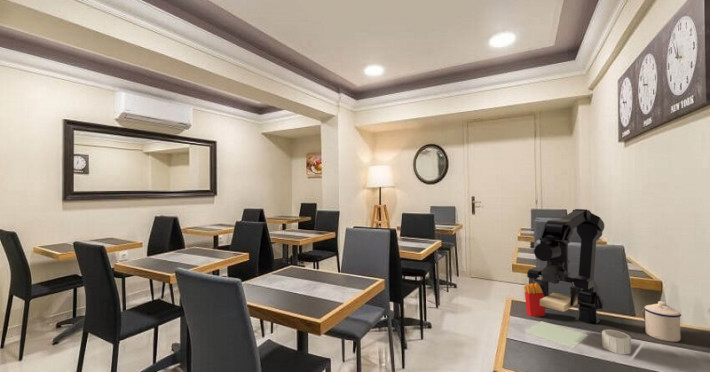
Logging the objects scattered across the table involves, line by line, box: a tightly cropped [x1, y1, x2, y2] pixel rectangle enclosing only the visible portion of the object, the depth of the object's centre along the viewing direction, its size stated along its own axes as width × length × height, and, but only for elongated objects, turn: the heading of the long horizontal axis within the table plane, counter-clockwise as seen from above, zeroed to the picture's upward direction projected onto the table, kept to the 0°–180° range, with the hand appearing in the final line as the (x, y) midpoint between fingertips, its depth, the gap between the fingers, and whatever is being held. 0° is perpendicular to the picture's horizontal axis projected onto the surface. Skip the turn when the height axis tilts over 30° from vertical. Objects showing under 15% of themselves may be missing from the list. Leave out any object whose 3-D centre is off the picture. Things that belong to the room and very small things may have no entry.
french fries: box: [523, 282, 546, 318], centre depth 128 cm, size 9×4×13 cm, turn 106°
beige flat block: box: [540, 292, 578, 312], centre depth 110 cm, size 12×7×2 cm, turn 128°
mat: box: [523, 320, 589, 349], centre depth 111 cm, size 14×15×1 cm
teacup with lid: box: [641, 300, 682, 343], centre depth 111 cm, size 12×9×12 cm
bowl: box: [601, 329, 632, 355], centre depth 100 cm, size 7×7×5 cm
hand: (558, 302), depth 110 cm, fingers closed on beige flat block, 7 cm apart
